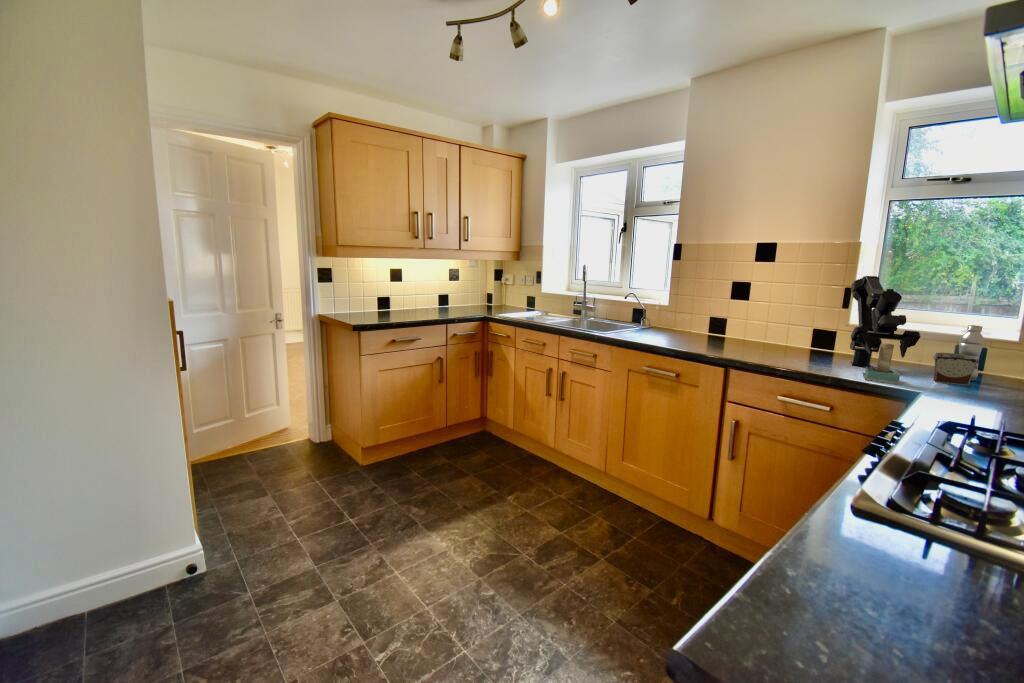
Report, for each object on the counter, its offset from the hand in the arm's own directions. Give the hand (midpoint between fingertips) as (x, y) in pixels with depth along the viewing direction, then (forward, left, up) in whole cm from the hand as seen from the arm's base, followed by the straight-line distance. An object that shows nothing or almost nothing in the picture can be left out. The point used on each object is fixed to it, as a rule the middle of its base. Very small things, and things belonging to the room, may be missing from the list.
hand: (886, 355), depth 161 cm
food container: (-15, +20, -9) cm, 27 cm away
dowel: (-1, 0, -8) cm, 8 cm away
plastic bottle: (-23, +26, -9) cm, 36 cm away
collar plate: (-1, 0, -9) cm, 9 cm away
